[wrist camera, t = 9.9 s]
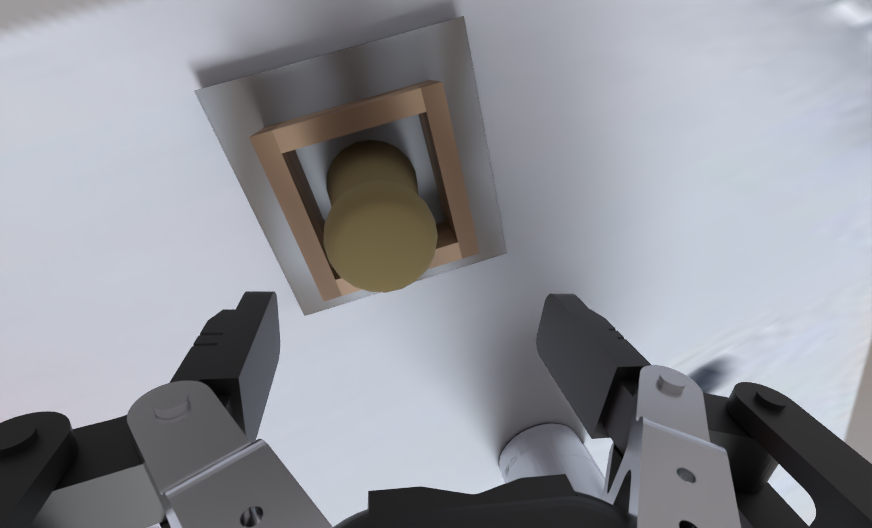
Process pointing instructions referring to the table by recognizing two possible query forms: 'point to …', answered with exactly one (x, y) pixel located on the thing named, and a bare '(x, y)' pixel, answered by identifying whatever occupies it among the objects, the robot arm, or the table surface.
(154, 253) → the table surface
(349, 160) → the cork
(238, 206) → the table surface
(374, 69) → the socket block
